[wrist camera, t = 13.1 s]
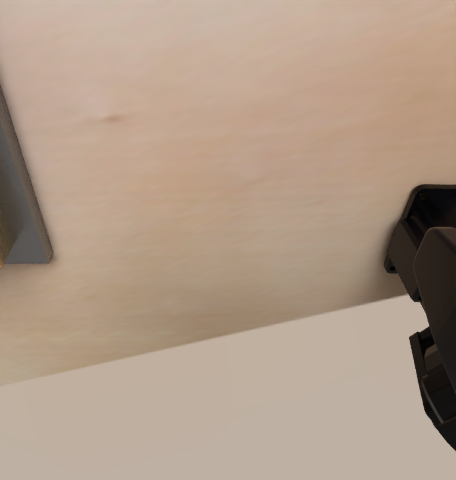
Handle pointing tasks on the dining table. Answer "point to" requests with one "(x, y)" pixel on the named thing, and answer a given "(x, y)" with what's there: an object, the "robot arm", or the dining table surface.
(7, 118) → the socket plate
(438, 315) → the robot arm
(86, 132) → the dining table surface
